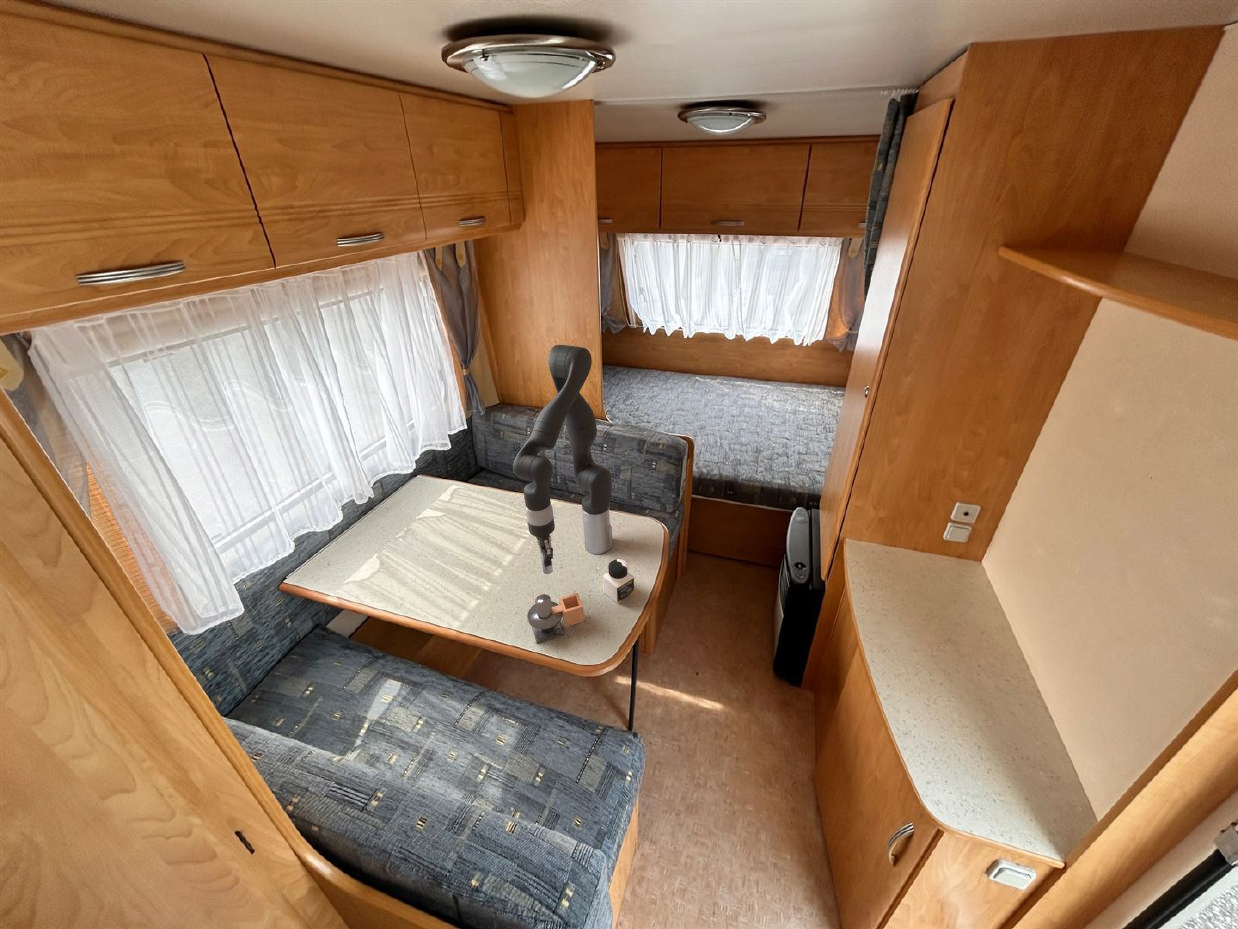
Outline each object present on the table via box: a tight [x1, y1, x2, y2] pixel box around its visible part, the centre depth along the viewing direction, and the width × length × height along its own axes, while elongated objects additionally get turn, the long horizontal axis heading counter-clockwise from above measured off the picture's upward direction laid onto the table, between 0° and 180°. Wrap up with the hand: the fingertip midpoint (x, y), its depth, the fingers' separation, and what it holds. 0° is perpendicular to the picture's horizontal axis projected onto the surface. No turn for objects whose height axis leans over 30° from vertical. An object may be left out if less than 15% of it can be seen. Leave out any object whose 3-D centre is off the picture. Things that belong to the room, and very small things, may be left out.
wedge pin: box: [538, 546, 554, 575], centre depth 154 cm, size 3×3×11 cm
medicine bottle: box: [602, 558, 635, 604], centre depth 161 cm, size 7×7×12 cm
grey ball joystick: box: [527, 594, 564, 644], centre depth 149 cm, size 10×10×12 cm
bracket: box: [552, 592, 585, 627], centre depth 151 cm, size 9×6×6 cm, turn 111°
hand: (546, 561), depth 155 cm, fingers closed on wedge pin, 3 cm apart
